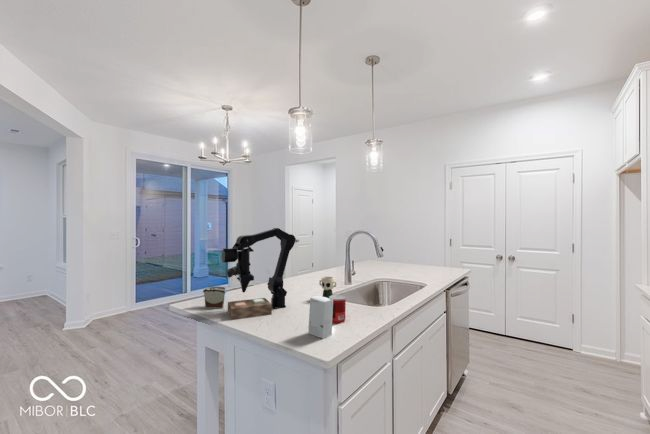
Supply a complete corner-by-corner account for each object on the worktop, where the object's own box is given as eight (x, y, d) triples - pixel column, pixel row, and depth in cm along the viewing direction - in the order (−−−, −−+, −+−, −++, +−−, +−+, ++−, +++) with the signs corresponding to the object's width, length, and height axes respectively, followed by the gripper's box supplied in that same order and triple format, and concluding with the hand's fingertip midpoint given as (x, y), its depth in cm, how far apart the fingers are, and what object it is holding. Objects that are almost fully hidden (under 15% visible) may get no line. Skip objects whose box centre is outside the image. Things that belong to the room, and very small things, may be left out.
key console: (264, 307, 159) (265, 297, 159) (271, 314, 147) (271, 304, 147) (227, 311, 150) (227, 301, 150) (231, 319, 139) (231, 308, 139)
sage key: (262, 305, 154) (262, 298, 154) (264, 307, 149) (264, 300, 149) (252, 306, 152) (252, 299, 152) (254, 309, 147) (254, 301, 147)
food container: (230, 305, 162) (230, 286, 162) (225, 308, 156) (225, 289, 156) (208, 304, 163) (208, 286, 164) (202, 307, 157) (202, 288, 157)
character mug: (316, 300, 173) (316, 277, 174) (322, 297, 180) (322, 275, 180) (333, 302, 169) (333, 279, 169) (338, 299, 175) (338, 277, 175)
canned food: (347, 318, 141) (347, 295, 141) (342, 324, 133) (342, 299, 134) (331, 317, 143) (331, 294, 144) (326, 322, 136) (326, 298, 136)
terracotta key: (244, 309, 150) (244, 301, 150) (246, 311, 145) (246, 304, 146) (234, 310, 148) (234, 302, 148) (235, 313, 143) (235, 305, 143)
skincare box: (308, 334, 122) (308, 297, 122) (317, 329, 127) (318, 294, 127) (323, 339, 117) (324, 301, 117) (333, 335, 121) (333, 298, 121)
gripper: (224, 259, 154) (224, 290, 154) (229, 264, 137) (230, 298, 137) (245, 258, 159) (246, 287, 159) (254, 263, 142) (254, 295, 142)
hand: (243, 292), depth 149 cm, fingers closed
